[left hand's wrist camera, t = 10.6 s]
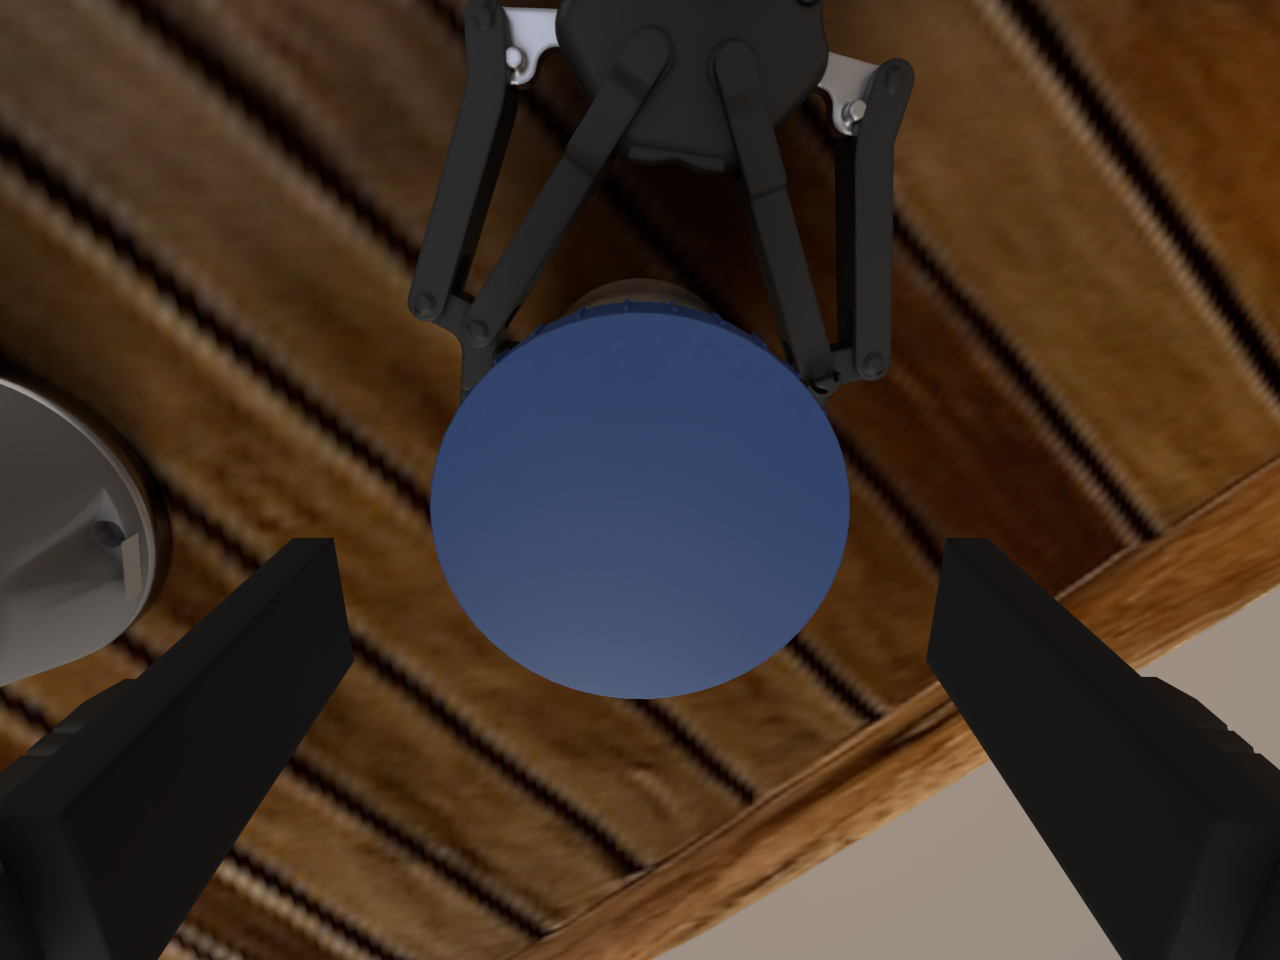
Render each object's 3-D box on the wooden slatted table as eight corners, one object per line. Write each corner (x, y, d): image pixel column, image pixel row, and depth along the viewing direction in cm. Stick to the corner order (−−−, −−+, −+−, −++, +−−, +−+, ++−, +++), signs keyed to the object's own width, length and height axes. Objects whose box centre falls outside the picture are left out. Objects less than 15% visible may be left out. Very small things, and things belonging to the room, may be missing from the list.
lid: (432, 617, 20) (406, 664, 18) (477, 257, 17) (453, 261, 15) (770, 678, 21) (785, 730, 19) (879, 345, 18) (913, 362, 15)
